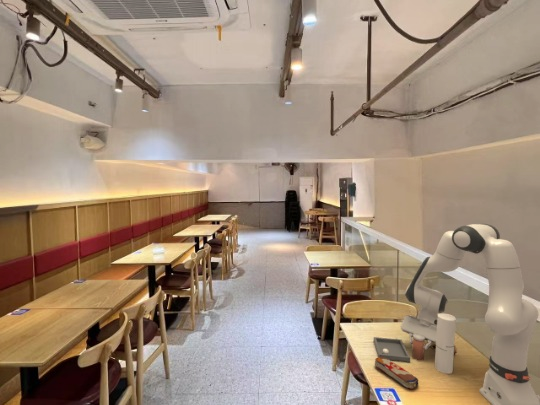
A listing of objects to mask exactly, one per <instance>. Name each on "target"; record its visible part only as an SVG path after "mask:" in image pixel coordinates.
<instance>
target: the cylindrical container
mask: <svg viewBox="0 0 540 405" xmlns="http://www.w3.org/2000/svg"><path fill="white" fill-rule="evenodd" d="M456 322H457V318H456V317H455V315H452V314H449V313H444V312H442V313H439V314H438V318H437V335H436V350H435V357H434V368H435V369H436V370H437V371H438V372H440V373H442V374H444V375H445V374H447V375H450V374H452V373H453V372H454V371H453V368H454V356H455V353H454V346H455V338H456V325H457V324H456Z"/></svg>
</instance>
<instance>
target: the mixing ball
mask: <svg viewBox="0 0 540 405" xmlns="http://www.w3.org/2000/svg"><path fill="white" fill-rule="evenodd" d="M382 353H383V354H389V351H388V350H387V349H383V350H382Z"/></svg>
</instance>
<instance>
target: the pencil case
mask: <svg viewBox="0 0 540 405" xmlns="http://www.w3.org/2000/svg"><path fill="white" fill-rule="evenodd" d="M374 365H375V367H376V368H378V369H379V370H381V371H383V372H384V373H385V374H387V376H389V377H391V378H392V379H394V380H395V381H397V382H398V383H399V384H400V385H402V386H403V387H405V388H407V389H411V390H413V389H415V388H417V387H418V386H419V378H417V376H414V374H412V373H410V372H409V371H407V370H406V369H404V367H401V366H400V365H399V364H396V363H395V361H390V360H389V359H387V358H385V357H376V358H375V359H374Z"/></svg>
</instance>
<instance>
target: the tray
mask: <svg viewBox="0 0 540 405" xmlns="http://www.w3.org/2000/svg"><path fill="white" fill-rule="evenodd" d="M373 344H374V347H375V350H376V353H377V356H378V357H385V358H387V359H389V360H390V361H392V362H399V363H409V364H410V363H411V356H410V354H409V352H408V350H407V348H406V346H405V344H404V343H403V340H402V339H399V338H390V337H389V338H387V337H379V336H378V337H377V336H374V337H373ZM383 349H387V350H388V351H389V354H383V353H382V350H383ZM378 357H377V358H378Z"/></svg>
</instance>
